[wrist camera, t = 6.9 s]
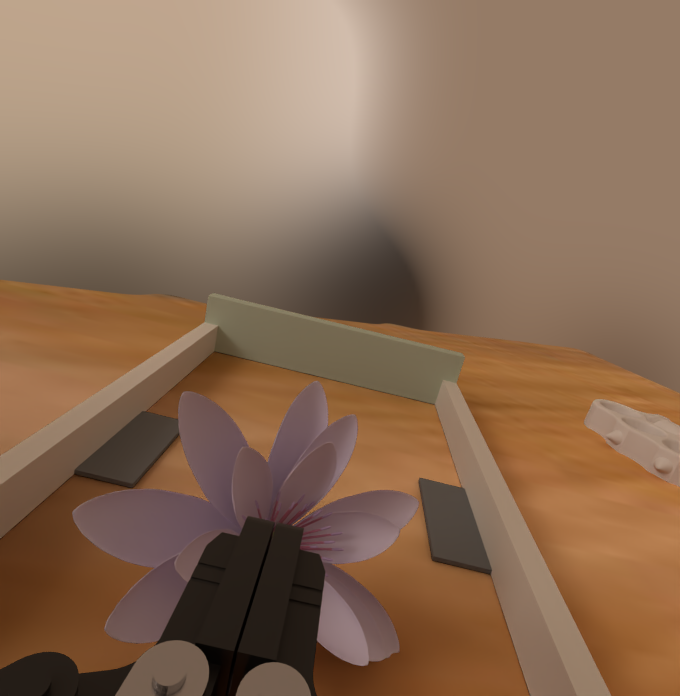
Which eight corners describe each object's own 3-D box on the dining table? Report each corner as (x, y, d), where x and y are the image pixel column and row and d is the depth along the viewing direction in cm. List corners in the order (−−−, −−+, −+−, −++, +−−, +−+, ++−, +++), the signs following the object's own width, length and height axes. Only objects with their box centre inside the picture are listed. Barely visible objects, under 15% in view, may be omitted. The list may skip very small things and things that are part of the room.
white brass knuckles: (800, 516, 44) (714, 526, 38) (634, 424, 60) (556, 420, 54) (819, 488, 43) (733, 494, 37) (645, 401, 59) (566, 396, 53)
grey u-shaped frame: (799, 1309, 9) (1008, 1204, 7) (-596, 976, 9) (-756, 781, 7) (445, 402, 50) (462, 353, 48) (205, 344, 50) (213, 293, 48)
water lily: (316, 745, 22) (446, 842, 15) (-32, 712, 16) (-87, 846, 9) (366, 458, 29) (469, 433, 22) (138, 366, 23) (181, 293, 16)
